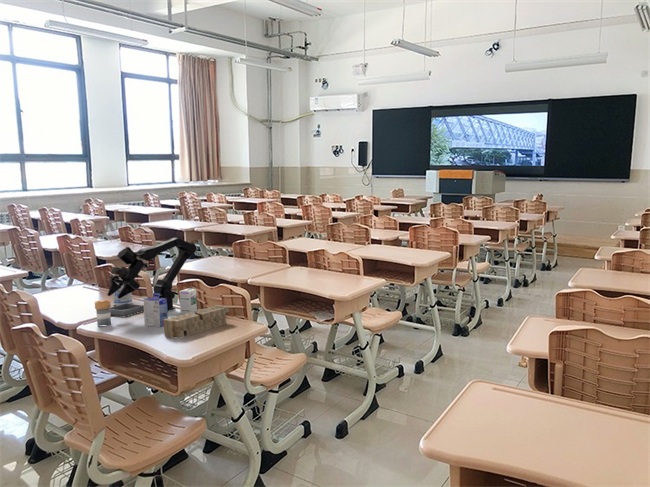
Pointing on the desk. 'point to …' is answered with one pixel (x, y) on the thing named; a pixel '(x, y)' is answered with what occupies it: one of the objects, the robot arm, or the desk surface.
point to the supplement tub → (124, 299)
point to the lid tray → (126, 309)
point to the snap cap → (102, 304)
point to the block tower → (195, 321)
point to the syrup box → (188, 301)
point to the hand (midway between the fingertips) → (113, 296)
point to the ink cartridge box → (155, 311)
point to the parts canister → (103, 316)
